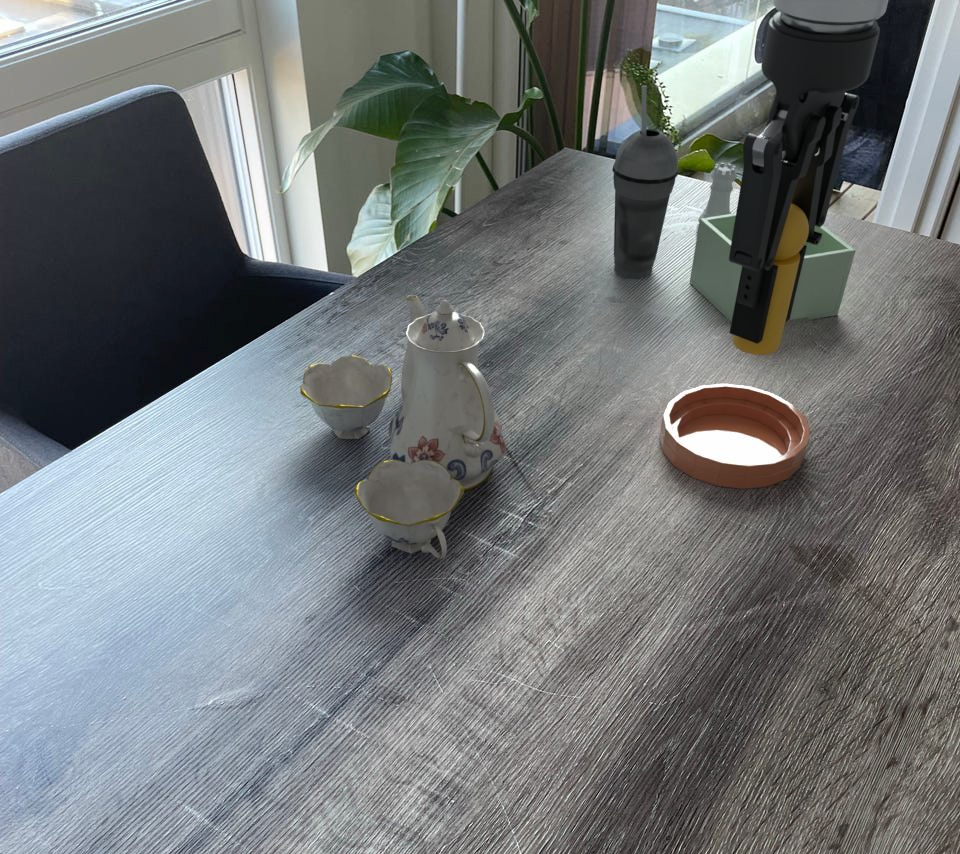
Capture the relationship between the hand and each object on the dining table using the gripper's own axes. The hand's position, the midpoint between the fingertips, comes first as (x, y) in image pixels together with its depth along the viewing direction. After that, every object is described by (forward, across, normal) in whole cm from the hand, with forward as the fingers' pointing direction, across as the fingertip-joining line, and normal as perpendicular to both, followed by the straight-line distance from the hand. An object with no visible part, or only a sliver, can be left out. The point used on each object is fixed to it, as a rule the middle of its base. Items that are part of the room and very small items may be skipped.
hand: (759, 325), depth 88 cm
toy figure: (+2, 0, 0) cm, 2 cm away
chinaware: (+13, +22, -20) cm, 33 cm away
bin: (+13, -28, -13) cm, 33 cm away
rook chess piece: (+13, -39, -26) cm, 49 cm away
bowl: (+13, 0, 0) cm, 13 cm away
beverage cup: (+13, -24, -28) cm, 39 cm away
